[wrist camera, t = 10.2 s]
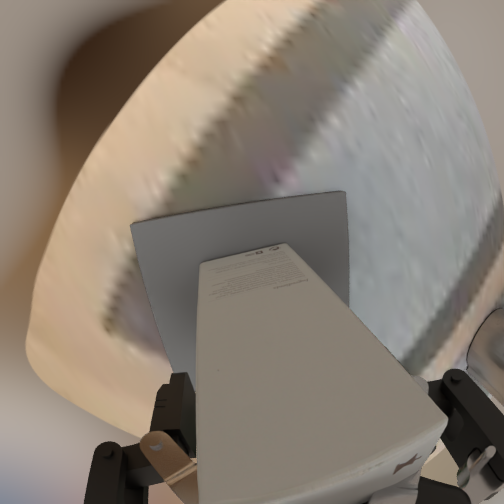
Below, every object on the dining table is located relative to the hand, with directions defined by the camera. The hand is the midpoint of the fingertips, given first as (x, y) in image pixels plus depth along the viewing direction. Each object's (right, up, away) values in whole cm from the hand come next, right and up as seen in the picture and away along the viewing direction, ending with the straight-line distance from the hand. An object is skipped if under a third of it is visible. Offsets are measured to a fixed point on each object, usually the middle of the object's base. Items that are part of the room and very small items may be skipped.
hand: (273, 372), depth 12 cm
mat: (-1, +2, +7) cm, 8 cm away
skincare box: (-1, +2, +7) cm, 7 cm away
